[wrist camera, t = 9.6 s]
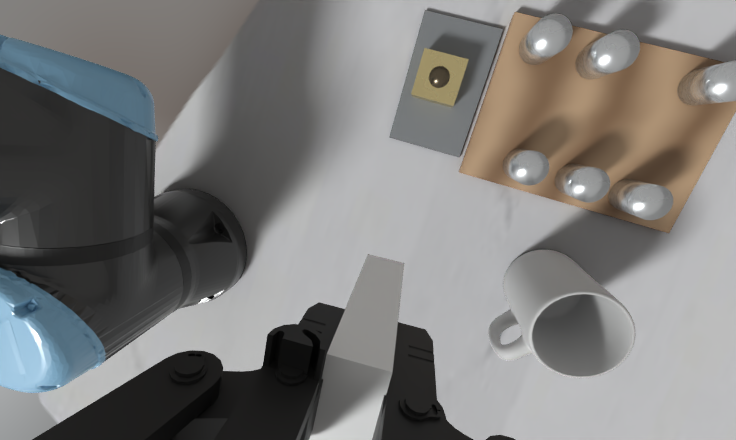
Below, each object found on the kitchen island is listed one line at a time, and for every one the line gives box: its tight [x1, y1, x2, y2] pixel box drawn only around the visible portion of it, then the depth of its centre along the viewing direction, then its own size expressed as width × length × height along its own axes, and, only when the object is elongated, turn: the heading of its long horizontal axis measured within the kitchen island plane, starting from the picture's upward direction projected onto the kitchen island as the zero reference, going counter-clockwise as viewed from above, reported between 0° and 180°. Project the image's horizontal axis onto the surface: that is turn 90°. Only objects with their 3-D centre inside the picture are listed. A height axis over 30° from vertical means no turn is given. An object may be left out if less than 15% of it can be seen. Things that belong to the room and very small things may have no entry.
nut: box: [411, 48, 469, 108], centre depth 35 cm, size 4×4×3 cm
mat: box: [390, 10, 503, 157], centre depth 37 cm, size 8×13×1 cm, turn 165°
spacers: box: [503, 13, 736, 220], centre depth 32 cm, size 18×14×4 cm
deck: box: [459, 12, 736, 233], centre depth 35 cm, size 22×16×1 cm
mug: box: [488, 249, 635, 378], centre depth 35 cm, size 12×8×11 cm
